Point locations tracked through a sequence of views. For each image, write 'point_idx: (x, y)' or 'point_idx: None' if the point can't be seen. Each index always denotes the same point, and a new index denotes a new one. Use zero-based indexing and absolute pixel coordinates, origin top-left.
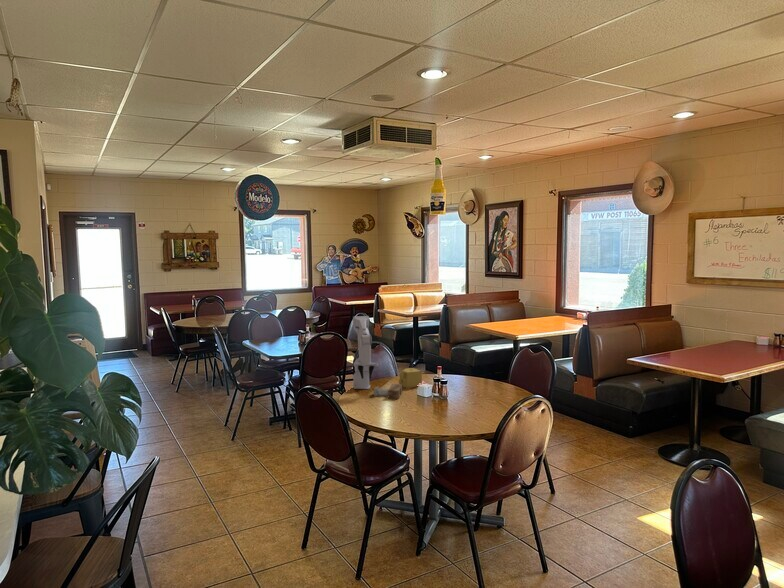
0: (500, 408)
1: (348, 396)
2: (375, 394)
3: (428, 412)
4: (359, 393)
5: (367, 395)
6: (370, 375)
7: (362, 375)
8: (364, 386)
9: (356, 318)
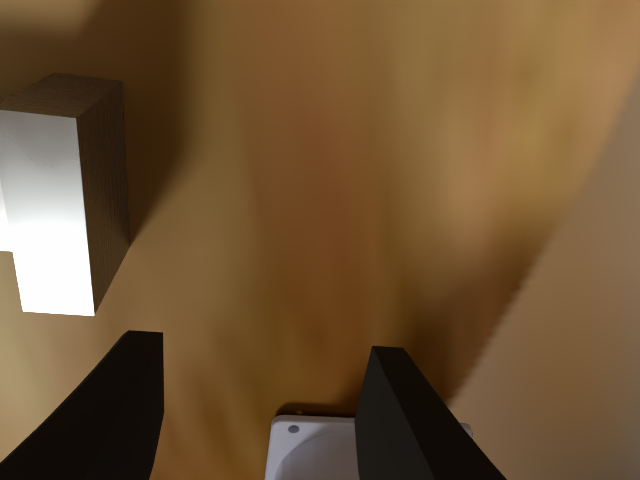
0: None
1: (579, 61)
2: (80, 84)
3: None
4: (388, 237)
5: (248, 128)
6: (58, 407)
7: (400, 427)
8: (329, 451)
9: None
